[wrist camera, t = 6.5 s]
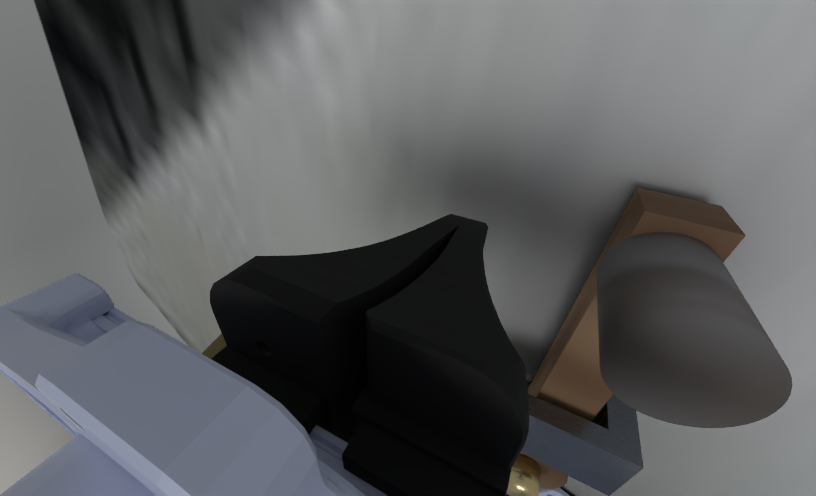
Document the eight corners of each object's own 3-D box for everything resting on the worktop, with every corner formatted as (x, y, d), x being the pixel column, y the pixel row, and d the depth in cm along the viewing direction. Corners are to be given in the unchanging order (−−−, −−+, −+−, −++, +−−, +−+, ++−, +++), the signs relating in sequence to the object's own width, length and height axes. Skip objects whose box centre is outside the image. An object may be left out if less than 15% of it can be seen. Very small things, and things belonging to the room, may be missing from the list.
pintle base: (541, 465, 22) (533, 540, 19) (458, 403, 23) (436, 465, 19) (624, 439, 18) (633, 531, 14) (518, 362, 18) (502, 434, 15)
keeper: (604, 412, 17) (608, 496, 14) (490, 362, 19) (471, 426, 16) (632, 381, 16) (643, 468, 12) (503, 330, 18) (484, 394, 14)
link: (554, 464, 20) (544, 586, 16) (486, 430, 22) (459, 534, 17) (761, 215, 10) (913, 366, 5) (604, 179, 11) (616, 275, 7)
